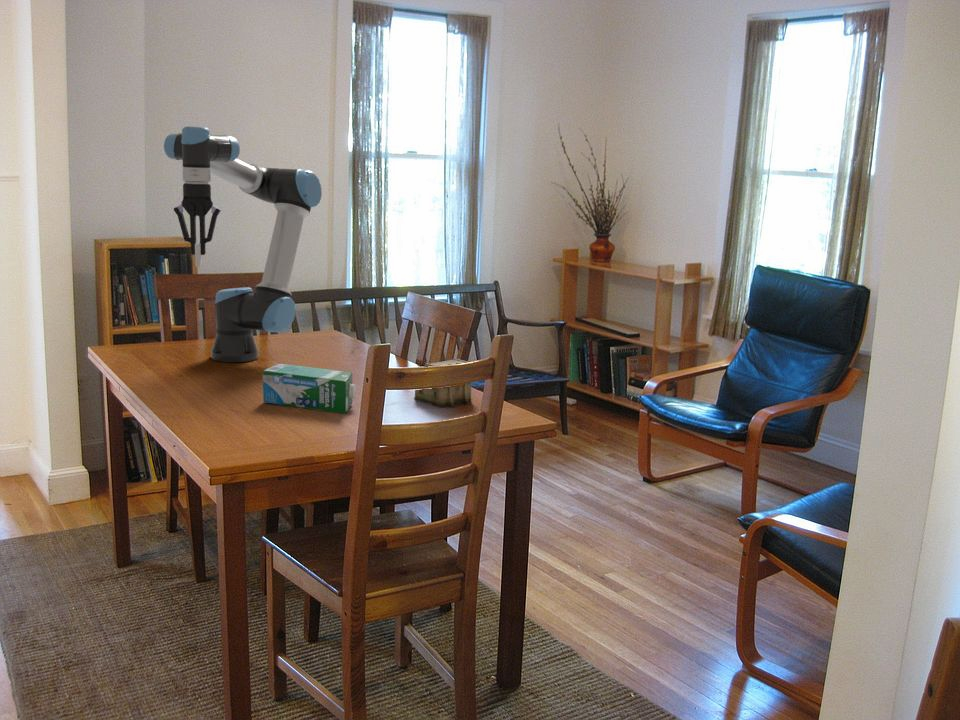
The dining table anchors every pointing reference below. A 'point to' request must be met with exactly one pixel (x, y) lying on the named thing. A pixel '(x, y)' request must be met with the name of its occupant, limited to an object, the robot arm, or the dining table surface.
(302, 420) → the dining table surface
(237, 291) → the robot arm
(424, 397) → the miniature house
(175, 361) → the dining table surface
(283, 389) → the milk carton
